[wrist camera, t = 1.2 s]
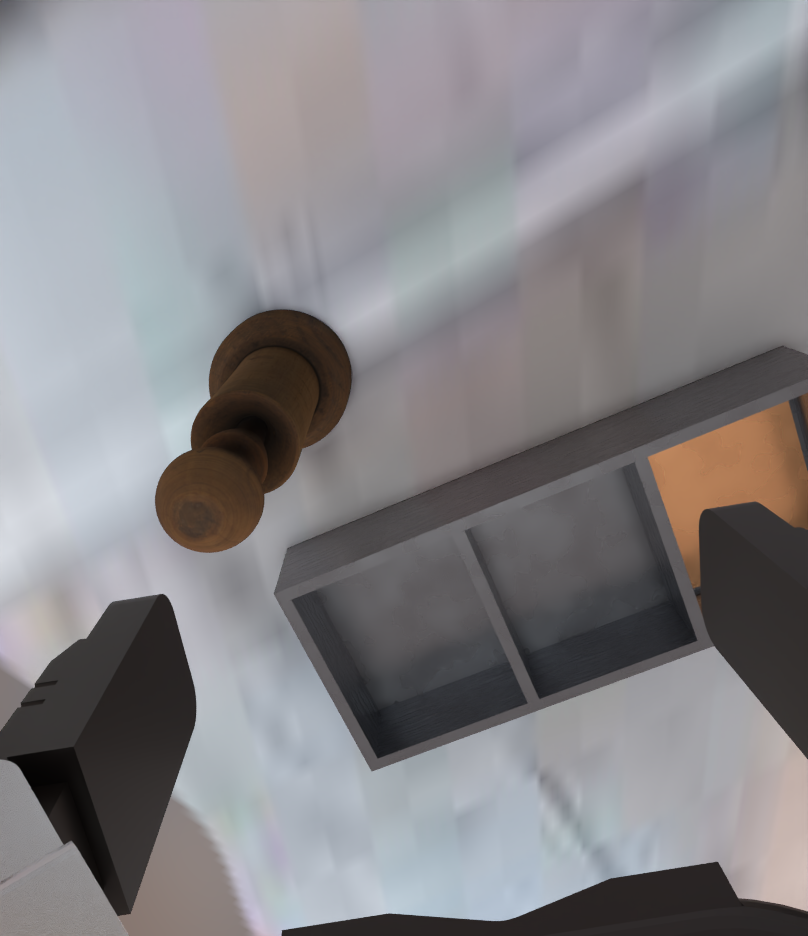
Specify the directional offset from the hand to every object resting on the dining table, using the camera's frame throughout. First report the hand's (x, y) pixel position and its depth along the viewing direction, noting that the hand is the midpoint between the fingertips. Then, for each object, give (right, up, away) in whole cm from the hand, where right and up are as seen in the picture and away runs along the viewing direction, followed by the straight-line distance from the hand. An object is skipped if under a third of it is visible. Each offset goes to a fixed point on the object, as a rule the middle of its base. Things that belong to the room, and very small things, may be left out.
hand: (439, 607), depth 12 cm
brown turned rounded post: (-6, +7, +26) cm, 28 cm away
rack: (+8, -2, +29) cm, 30 cm away
